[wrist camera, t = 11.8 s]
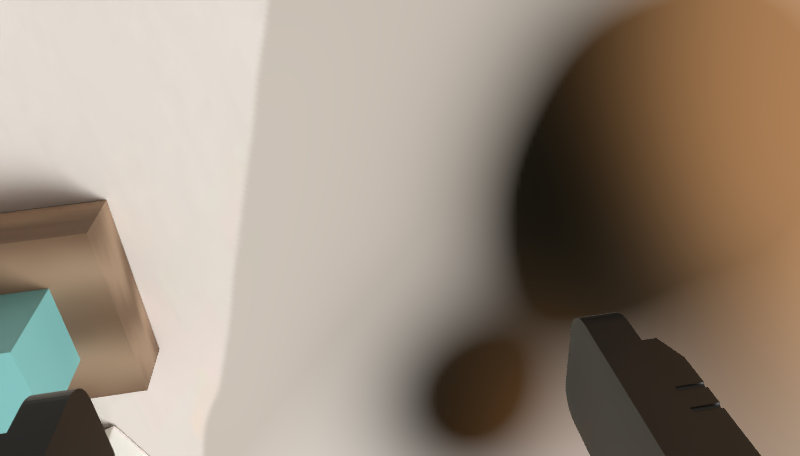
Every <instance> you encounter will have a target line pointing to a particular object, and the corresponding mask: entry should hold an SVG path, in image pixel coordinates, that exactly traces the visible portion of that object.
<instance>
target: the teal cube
mask: <svg viewBox="0 0 800 456" xmlns="http://www.w3.org/2000/svg"><path fill="white" fill-rule="evenodd" d="M79 362H80V357H79V355H78V353H77V351H76V348H75V346H74V344H73V342H72V339H71V337H70V335H69V333H68V330H67V328H66V326H65V324H64V322H63V319H62V317H61V315H60V313H59V310H58V308H57V306H56V304H55V301H54V299H53V297H52V295H51V292H50V290H49V289H41V290H34V291H27V292H19V293H12V294H4V295H0V434H3V433H7V431H8V429H9V427H10V425H11V423H12V421H13V419H14V418H15V416H16V414H17V412H18V410H19V408H20V406H21V404H22V403H23V401H24V400H25V399H26V398H27V397H29V396H31V395H36V394H43V393H50V392H57V391H64V390H67V389H68V387H69V385H70V382H71V380H72V378H73V376H74V374H75V371H76V369H77V367H78V365H79Z"/></svg>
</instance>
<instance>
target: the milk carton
mask: <svg viewBox="0 0 800 456" xmlns="http://www.w3.org/2000/svg"><path fill="white" fill-rule="evenodd" d="M105 432H106V435H107V437H108V439H109V441H110V443H111V446H112V448H113V450H114V453H115V456H148V455H147V454H146V453H145V452H144V451H143V450H141V449H140V448H139V447H138V446H137V445H136V444H135V443H134V442H132V441H131V440H130V439H129V438H128V437H127V436H126V435H125V434H123V433H122V432H121V431H120V430H119V429H118V428H116V427H115V426H112V427H110V428H108V429H106V430H105Z"/></svg>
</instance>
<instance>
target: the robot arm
mask: <svg viewBox="0 0 800 456" xmlns="http://www.w3.org/2000/svg"><path fill="white" fill-rule="evenodd" d="M566 395H567V401H568V406H569V410H570V413H571V416H572V418H573V421H574V423H575V425H576V427H577V429H578V431H579V433H580V435H581V437H582V439H583V441H584V443H585V446H586V448H587V450H588V452H589V454H590V456H761V455H760V454H759V453H758V451H757V450H756V449H755V447H754V446H753V445H752V444H751V442H750V441H749V440H748V438H747V437H746V436H745V435H744V433H743V432H742V431H741V429H740V428H739V427H738V426H737V424H736V423H735V422H734V420H733V419H732V418H731V417H730V415H729V414H728V413H727V411H726V410H725V409H724V408H721V407H720V402H719V401H718V400H717V399H716V397H715V396H714V395H713V393H712V392H711V391H710V389H709V388H708V387H705V386H704V382H703V380H702V379H701V378H700V377H699V375H698V374H697V373H696V371H695V370H694V369H693V368H692V366H691V365H690V364H689V362H688V361H687V360H686V359H685V357H683V356H682V355H680V354H679V353H677V352H676V351H674V350H673V349H672V348H670V347H668V346H667V345H666V344H664V343H663V342H661V341H660V340H658V339H657V338H654V339H647V340H641V339H640V337H639V336H638V335H637V333H636V332H635V330H634V329H633V327H632V326H631V325H630V323H629V322H628V320H627V319H626V318H625V317H624V316H623V315H622V314H621V313H618V312H616V313H609V314H602V315H595V316H588V317H581V318H576V319H574V320H573V322H572V325H571V333H570V344H569V354H568V365H567V376H566ZM0 456H115V453H114V450H113V448H112V446H111V443H110V441H109V439H108V437H107V435H106V432H105V430H104V428H103V426H102V424H101V421H100V419H99V417H98V415H97V413H96V410H95V408H94V406H93V404H92V401H91V399H90V397H89V395H88V394H87V392H86V391H85V390H83V389H81V388H78V389H71V390H64V391H57V392H50V393H43V394H36V395H31V396H29V397H27V398H26V399H25V400H24V401H23V403H22V404H21V406H20V408H19V410H18V412H17V414H16V416H15V418H14V419H13V421H12V423H11V425H10V427H9V429H8V431H7V433H3V434H0Z"/></svg>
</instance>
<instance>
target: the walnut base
mask: <svg viewBox="0 0 800 456" xmlns="http://www.w3.org/2000/svg"><path fill="white" fill-rule="evenodd" d="M41 289H49V290H50V292H51V295H52V297H53V299H54V301H55V304H56V306H57V308H58V310H59V313H60V315H61V317H62V319H63V322H64V324H65V326H66V328H67V330H68V333H69V335H70V337H71V339H72V342H73V344H74V346H75V348H76V351H77V353H78V355H79V357H80V362H79V365H78V367H77V369H76V371H75V374H74V376H73V378H72V380H71V382H70V385H69V387H68V389H67V390H71V389H78V388H81V389H83V390H85V391H86V392H87V394H88V395H89V397H90V398H97V397H104V396H110V395H117V394H124V393H131V392H137V391H144V390H147V389H148V386H149V382H150V379H151V376H152V372H153V369H154V365H155V362H156V359H157V355H158V352H159V347H158V344H157V341H156V339H155V336H154V333H153V330H152V327H151V325H150V322H149V319H148V316H147V313H146V310H145V308H144V305H143V302H142V299H141V296H140V294H139V291H138V288H137V285H136V282H135V279H134V277H133V274H132V271H131V268H130V265H129V263H128V260H127V257H126V254H125V251H124V248H123V246H122V243H121V240H120V237H119V234H118V232H117V229H116V226H115V223H114V220H113V217H112V215H111V212H110V209H109V206H108V203H107V201H106V200H104V201H95V202H87V203H79V204H71V205H63V206H55V207H47V208H39V209H31V210H23V211H14V212H6V213H0V295H4V294H12V293H19V292H27V291H34V290H41Z"/></svg>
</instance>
